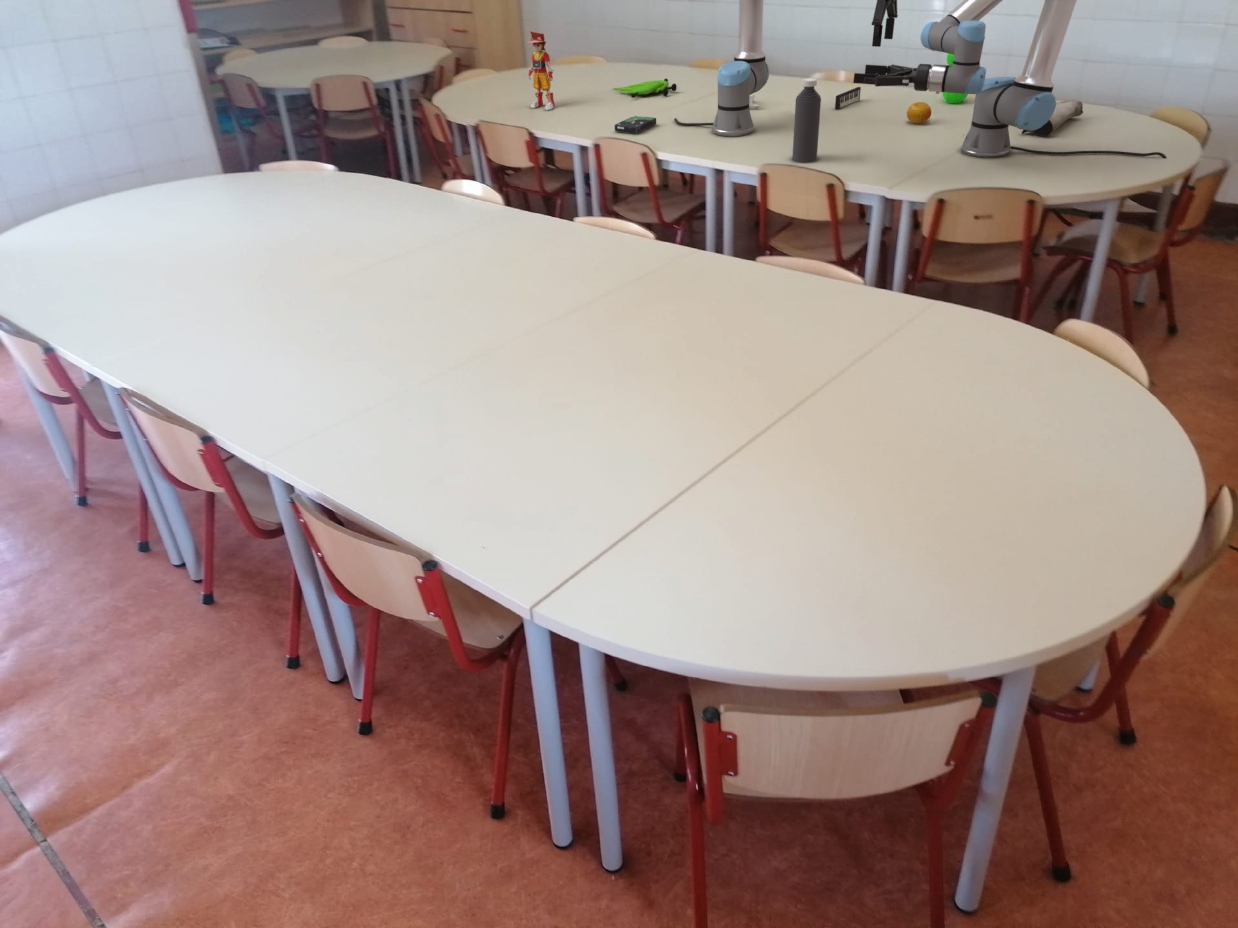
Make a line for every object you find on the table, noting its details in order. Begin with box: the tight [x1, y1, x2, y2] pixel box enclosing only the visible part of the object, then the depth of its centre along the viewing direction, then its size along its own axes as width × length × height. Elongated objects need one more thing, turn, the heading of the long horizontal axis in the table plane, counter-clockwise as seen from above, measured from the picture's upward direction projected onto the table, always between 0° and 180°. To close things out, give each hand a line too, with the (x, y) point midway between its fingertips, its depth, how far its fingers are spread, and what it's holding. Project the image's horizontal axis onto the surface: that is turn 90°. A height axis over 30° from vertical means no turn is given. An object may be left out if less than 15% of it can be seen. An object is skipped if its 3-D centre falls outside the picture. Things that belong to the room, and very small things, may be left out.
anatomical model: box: [749, 94, 760, 109], centre depth 364 cm, size 15×10×10 cm
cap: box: [801, 77, 818, 88], centre depth 290 cm, size 4×5×2 cm
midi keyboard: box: [834, 86, 862, 110], centre depth 359 cm, size 18×1×5 cm, turn 138°
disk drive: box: [614, 115, 657, 135], centre depth 346 cm, size 10×3×15 cm
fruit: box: [906, 101, 932, 124], centre depth 331 cm, size 8×8×8 cm
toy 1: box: [527, 31, 556, 111], centre depth 374 cm, size 12×9×30 cm
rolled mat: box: [1021, 99, 1084, 138], centre depth 318 cm, size 30×9×10 cm
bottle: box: [791, 86, 822, 163], centre depth 297 cm, size 8×8×25 cm
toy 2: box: [612, 78, 677, 99], centre depth 396 cm, size 28×5×30 cm
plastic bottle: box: [942, 53, 969, 104], centre depth 348 cm, size 10×10×25 cm
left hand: (882, 43), depth 307 cm, fingers open, 13 cm apart
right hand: (859, 73), depth 278 cm, fingers open, 13 cm apart
